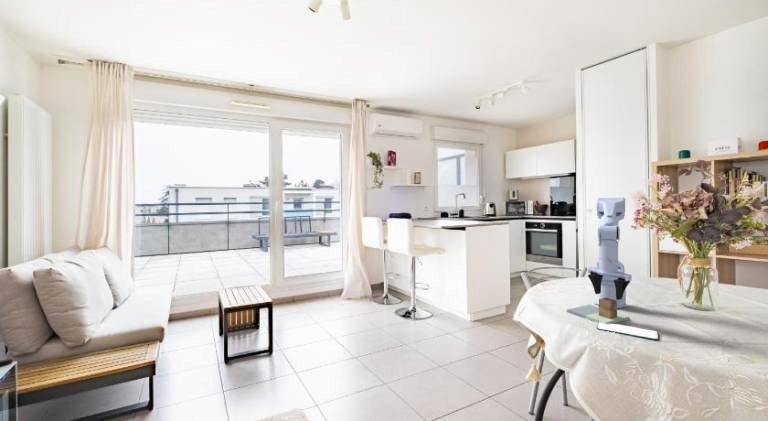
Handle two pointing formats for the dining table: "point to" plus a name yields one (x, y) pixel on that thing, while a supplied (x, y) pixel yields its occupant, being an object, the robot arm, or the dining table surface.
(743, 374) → the dining table surface
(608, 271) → the robot arm
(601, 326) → the smartphone
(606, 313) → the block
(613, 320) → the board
